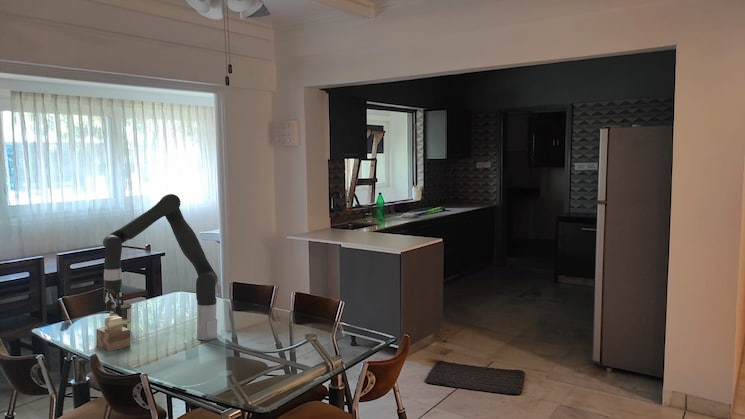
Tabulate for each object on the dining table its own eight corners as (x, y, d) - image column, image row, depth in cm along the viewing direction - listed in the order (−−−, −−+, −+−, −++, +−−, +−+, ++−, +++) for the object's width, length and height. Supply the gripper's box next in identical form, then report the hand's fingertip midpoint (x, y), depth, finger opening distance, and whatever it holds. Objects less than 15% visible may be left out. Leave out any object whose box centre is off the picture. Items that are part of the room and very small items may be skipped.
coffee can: (118, 337, 267) (118, 309, 266) (104, 333, 272) (104, 306, 271) (136, 332, 276) (136, 304, 275) (122, 328, 281) (122, 302, 280)
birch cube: (122, 329, 254) (122, 317, 254) (110, 331, 250) (110, 319, 249) (116, 326, 258) (116, 315, 257) (104, 329, 253) (104, 317, 253)
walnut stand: (130, 346, 254) (130, 329, 254) (108, 351, 247) (108, 334, 246) (117, 340, 262) (117, 324, 261) (96, 345, 254) (96, 328, 253)
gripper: (128, 279, 250) (129, 313, 251) (113, 275, 259) (113, 308, 260) (112, 281, 244) (113, 316, 246) (97, 277, 253) (97, 311, 254)
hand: (113, 312), depth 253 cm, fingers open, 8 cm apart
